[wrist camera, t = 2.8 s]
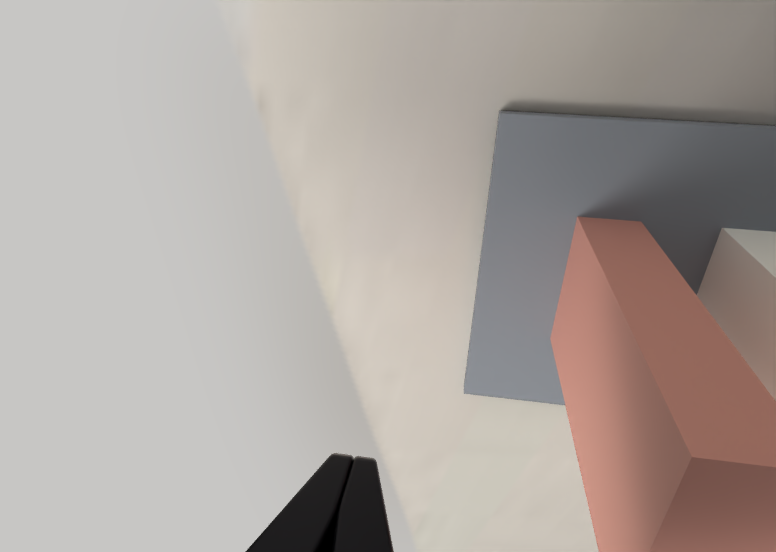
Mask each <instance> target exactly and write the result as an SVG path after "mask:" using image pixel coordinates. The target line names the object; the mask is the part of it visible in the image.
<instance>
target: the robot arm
mask: <svg viewBox="0 0 776 552" xmlns="http://www.w3.org/2000/svg"><path fill="white" fill-rule="evenodd" d="M246 552H394V551H393V546H392V541H391V535H390V531H389V525H388V520H387V514H386V509H385V504H384V499H383V493H382V488H381V483H380V478H379V472H378V467H377V462H376V460H375V459H374V458H367V457H361V456H357V457H355V458H353V457H352V456H351V455H345V454H338V453H334V454H332V455H331V456H329V458H328V459H327V460H326V461H325V462H324V463H323V464H322V465H321V467H320V468H319V469H318V470H317V471H316V472H315V473H314V475H313V476H312V477H311V478H310V479H309V480H308V481H307V483H306V484H305V485H304V486H303V487H302V488H301V489H300V490H299V492H298V493H297V494H296V495H295V496H294V497H293V498H292V500H291V501H290V502H289V503H288V504H287V505H286V506H285V508H284V509H283V510H282V511H281V512H280V513H279V514H278V515H277V517H276V518H275V519H274V520H273V521H272V522H271V523H270V525H269V526H268V527H267V528H266V529H265V530H264V531H263V533H262V534H261V535H260V536H259V537H258V538H257V539H256V540H255V542H254V543H253V544H252V545H251V546H250V547H249V549H248V550H247V551H246Z"/></svg>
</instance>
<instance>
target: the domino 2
mask: <svg viewBox="0 0 776 552" xmlns="http://www.w3.org/2000/svg"><path fill="white" fill-rule="evenodd" d="M697 297H698V298H699V299H700V301H701V302H702V303H703V305H704V306H705V307H706V309H707V310H708V311H709V313H710V314H711V315H712V317H713V318H714V319H715V321H716V322H717V323H718V325H719V326H720V327H721V329H722V330H723V331H724V333H725V334H726V335H727V337H728V338H729V339H730V341H731V342H732V343H733V345H734V346H735V347H736V349H737V350H738V351H739V353H740V354H741V355H742V357H743V358H744V359H745V361H746V362H747V363H748V365H749V366H750V367H751V369H752V370H753V371H754V373H755V374H756V375H757V377H758V378H759V379H760V381H761V382H762V383H763V385H764V386H765V387H766V389H767V390H768V391H769V393H770V394H771V396H772V397H773V398H774V400H775V401H776V232H772V231H759V230H746V229H732V228H722V229H721V232H720V234H719V237H718V240H717V242H716V245H715V248H714V250H713V253H712V256H711V258H710V261H709V264H708V266H707V269H706V272H705V274H704V277H703V280H702V283H701V285H700V288H699V291H698V293H697Z"/></svg>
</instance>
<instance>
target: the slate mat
mask: <svg viewBox="0 0 776 552" xmlns="http://www.w3.org/2000/svg"><path fill="white" fill-rule="evenodd" d="M577 217H589V218H602V219H615V220H628V221H641V222H642V223H643V224H644V226H645V227H646V228H647V230H648V231H649V232H650V234H651V235H652V237H653V238H654V239H655V241H656V242H657V243H658V245H659V246H660V247H661V249H662V250H663V251H664V253H665V254H666V255H667V257H668V258H669V259H670V261H671V262H672V263H673V265H674V266H675V267H676V269H677V270H678V271H679V273H680V274H681V275H682V277H683V278H684V279H685V281H686V282H687V283H688V285H689V286H690V287H691V289H692V290H693V291H694V293H695V294H696V295H697V293H698V291H699V288H700V285H701V283H702V280H703V277H704V274H705V272H706V269H707V266H708V264H709V261H710V258H711V256H712V253H713V250H714V248H715V245H716V242H717V240H718V237H719V234H720V232H721V229H722V228H732V229H746V230H759V231H772V232H776V126H769V125H751V124H732V123H714V122H696V121H678V120H660V119H642V118H624V117H606V116H588V115H570V114H552V113H533V112H515V111H499V117H498V125H497V133H496V141H495V149H494V156H493V164H492V172H491V180H490V188H489V195H488V203H487V211H486V219H485V226H484V234H483V242H482V250H481V258H480V265H479V273H478V281H477V289H476V297H475V304H474V312H473V320H472V328H471V335H470V343H469V351H468V359H467V367H466V374H465V382H464V394H473V395H481V396H490V397H498V398H507V399H516V400H524V401H533V402H541V403H550V404H559V405H565V401H564V397H563V393H562V388H561V384H560V379H559V375H558V371H557V366H556V362H555V358H554V353H553V349H552V345H551V340H550V337H551V333H552V328H553V324H554V319H555V315H556V310H557V306H558V301H559V297H560V292H561V288H562V283H563V279H564V274H565V270H566V265H567V261H568V256H569V252H570V247H571V242H572V238H573V233H574V229H575V224H576V220H577Z"/></svg>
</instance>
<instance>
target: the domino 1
mask: <svg viewBox="0 0 776 552" xmlns="http://www.w3.org/2000/svg"><path fill="white" fill-rule="evenodd" d="M550 340H551V345H552V349H553V353H554V358H555V362H556V366H557V371H558V375H559V379H560V384H561V388H562V393H563V397H564V401H565V406H566V410H567V414H568V419H569V423H570V427H571V432H572V436H573V440H574V445H575V449H576V454H577V458H578V462H579V467H580V471H581V475H582V480H583V484H584V488H585V493H586V497H587V501H588V506H589V510H590V515H591V519H592V523H593V528H594V532H595V536H596V541H597V545H598V549H599V552H776V401H775V400H774V398H773V397H772V396H771V394H770V393H769V391H768V390H767V389H766V387H765V386H764V385H763V383H762V382H761V381H760V379H759V378H758V377H757V375H756V374H755V373H754V371H753V370H752V369H751V367H750V366H749V365H748V363H747V362H746V361H745V359H744V358H743V357H742V355H741V354H740V353H739V351H738V350H737V349H736V347H735V346H734V345H733V343H732V342H731V341H730V339H729V338H728V337H727V335H726V334H725V333H724V331H723V330H722V329H721V327H720V326H719V325H718V323H717V322H716V321H715V319H714V318H713V317H712V315H711V314H710V313H709V311H708V310H707V309H706V307H705V306H704V305H703V303H702V302H701V301H700V299H699V298H698V297H697V295H696V294H695V293H694V291H693V290H692V289H691V287H690V286H689V285H688V283H687V282H686V281H685V279H684V278H683V277H682V275H681V274H680V273H679V271H678V270H677V269H676V267H675V266H674V265H673V263H672V262H671V261H670V259H669V258H668V257H667V255H666V254H665V253H664V251H663V250H662V249H661V247H660V246H659V245H658V243H657V242H656V241H655V239H654V238H653V237H652V235H651V234H650V232H649V231H648V230H647V228H646V227H645V226H644V224H643V223H642V222H641V221H628V220H615V219H602V218H589V217H577V220H576V224H575V229H574V233H573V238H572V242H571V247H570V252H569V256H568V261H567V265H566V270H565V274H564V279H563V283H562V288H561V292H560V297H559V301H558V306H557V310H556V315H555V319H554V324H553V328H552V333H551V337H550Z"/></svg>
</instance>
